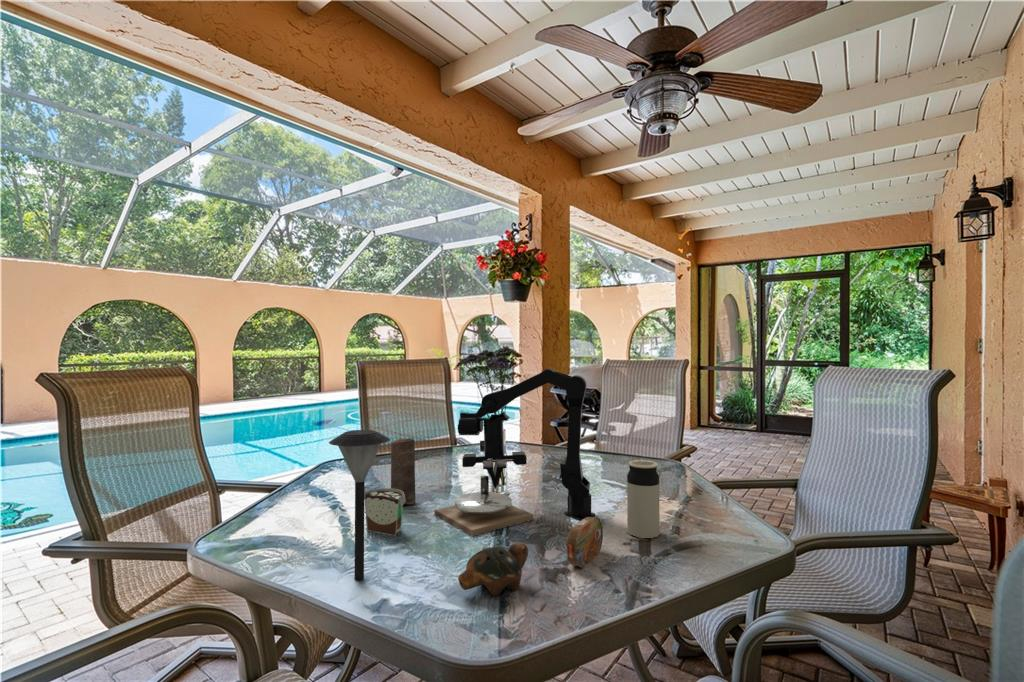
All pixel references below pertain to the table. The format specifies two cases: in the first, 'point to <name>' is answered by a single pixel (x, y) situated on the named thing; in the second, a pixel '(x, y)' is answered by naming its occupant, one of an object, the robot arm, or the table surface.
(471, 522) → the base plate
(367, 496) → the food container
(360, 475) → the solar garden light
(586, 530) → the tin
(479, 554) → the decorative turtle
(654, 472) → the travel mug
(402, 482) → the candle
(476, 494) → the handwheel
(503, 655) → the table surface
